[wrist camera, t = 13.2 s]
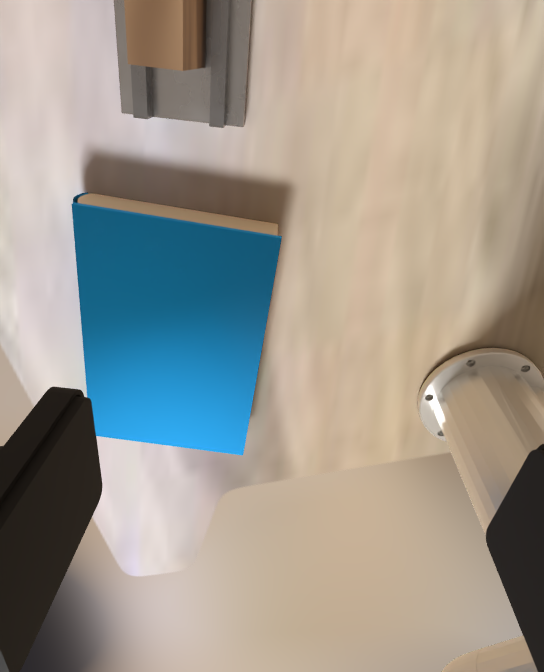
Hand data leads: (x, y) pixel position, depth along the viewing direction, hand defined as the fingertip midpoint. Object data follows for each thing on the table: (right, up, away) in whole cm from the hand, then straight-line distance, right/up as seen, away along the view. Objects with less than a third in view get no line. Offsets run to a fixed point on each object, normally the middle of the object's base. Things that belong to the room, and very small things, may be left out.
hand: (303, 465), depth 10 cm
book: (-10, +4, +35) cm, 37 cm away
